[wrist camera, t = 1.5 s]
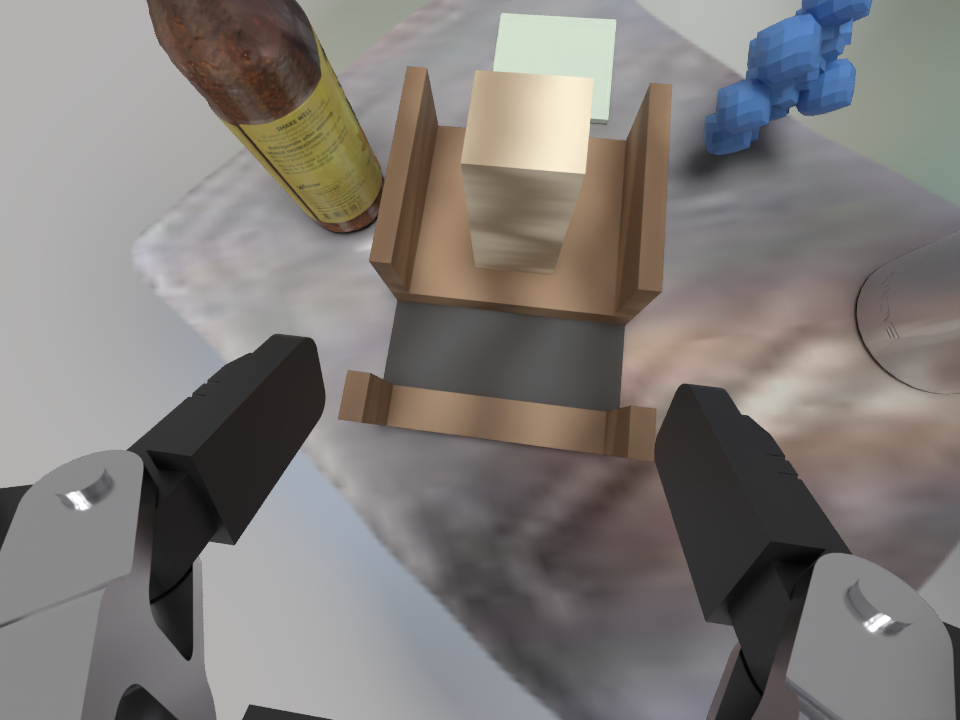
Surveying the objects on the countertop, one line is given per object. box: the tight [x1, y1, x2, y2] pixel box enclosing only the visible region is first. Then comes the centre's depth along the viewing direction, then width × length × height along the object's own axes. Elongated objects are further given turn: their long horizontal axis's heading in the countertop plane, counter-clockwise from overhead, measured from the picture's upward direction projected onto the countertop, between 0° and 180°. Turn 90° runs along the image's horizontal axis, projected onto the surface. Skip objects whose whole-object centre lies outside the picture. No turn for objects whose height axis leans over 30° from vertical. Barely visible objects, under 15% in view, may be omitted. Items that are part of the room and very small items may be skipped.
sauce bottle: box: [147, 0, 384, 232], centre depth 20 cm, size 7×6×20 cm
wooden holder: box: [338, 66, 672, 462], centre depth 25 cm, size 15×21×6 cm
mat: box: [493, 13, 616, 124], centre depth 31 cm, size 9×9×1 cm
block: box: [461, 70, 594, 275], centre depth 21 cm, size 5×4×10 cm
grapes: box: [704, 0, 872, 156], centre depth 23 cm, size 12×7×12 cm, turn 137°
